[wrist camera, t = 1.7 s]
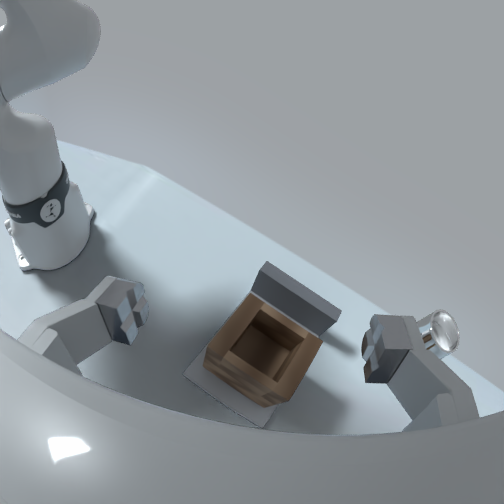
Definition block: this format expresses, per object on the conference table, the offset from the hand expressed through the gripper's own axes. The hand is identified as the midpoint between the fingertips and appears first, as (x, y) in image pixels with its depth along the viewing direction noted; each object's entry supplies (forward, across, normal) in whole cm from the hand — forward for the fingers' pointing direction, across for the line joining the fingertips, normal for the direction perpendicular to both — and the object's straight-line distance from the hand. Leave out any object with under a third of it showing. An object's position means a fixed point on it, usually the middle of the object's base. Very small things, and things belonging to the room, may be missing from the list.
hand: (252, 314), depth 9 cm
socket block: (+16, +2, +25) cm, 30 cm away
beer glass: (+22, -20, +30) cm, 42 cm away
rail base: (+19, +1, +25) cm, 32 cm away
